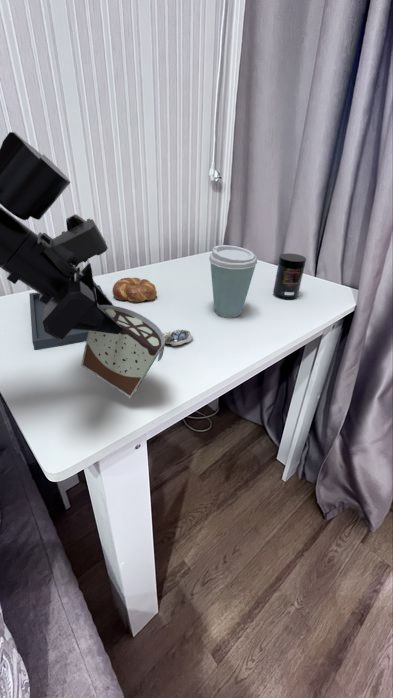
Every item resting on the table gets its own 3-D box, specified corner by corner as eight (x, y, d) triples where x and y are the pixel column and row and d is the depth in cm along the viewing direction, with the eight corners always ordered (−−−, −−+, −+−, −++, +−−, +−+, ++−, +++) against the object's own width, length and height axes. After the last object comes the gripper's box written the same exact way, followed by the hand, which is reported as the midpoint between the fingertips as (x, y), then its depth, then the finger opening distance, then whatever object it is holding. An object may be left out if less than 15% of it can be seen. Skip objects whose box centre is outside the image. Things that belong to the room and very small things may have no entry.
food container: (157, 387, 54) (181, 337, 50) (138, 403, 49) (163, 349, 45) (97, 348, 56) (116, 297, 52) (73, 360, 51) (91, 304, 47)
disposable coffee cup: (250, 305, 84) (258, 245, 76) (249, 325, 75) (259, 259, 67) (208, 301, 85) (212, 241, 77) (203, 320, 76) (206, 255, 68)
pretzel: (166, 294, 87) (166, 280, 85) (140, 308, 80) (139, 294, 78) (132, 283, 93) (131, 270, 91) (103, 296, 85) (102, 282, 83)
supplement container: (292, 290, 93) (300, 253, 88) (301, 300, 88) (310, 261, 82) (269, 290, 92) (275, 253, 87) (277, 300, 87) (284, 261, 81)
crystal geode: (152, 342, 67) (151, 334, 66) (171, 326, 73) (171, 318, 72) (181, 351, 64) (181, 343, 63) (199, 333, 70) (199, 326, 69)
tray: (34, 350, 63) (32, 341, 62) (31, 300, 81) (29, 293, 80) (121, 334, 69) (120, 326, 68) (100, 292, 87) (99, 285, 86)
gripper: (57, 213, 30) (172, 310, 39) (60, 185, 45) (143, 261, 54) (-15, 299, 32) (110, 373, 41) (10, 246, 47) (99, 309, 56)
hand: (117, 321), depth 48 cm, fingers closed on food container, 5 cm apart
